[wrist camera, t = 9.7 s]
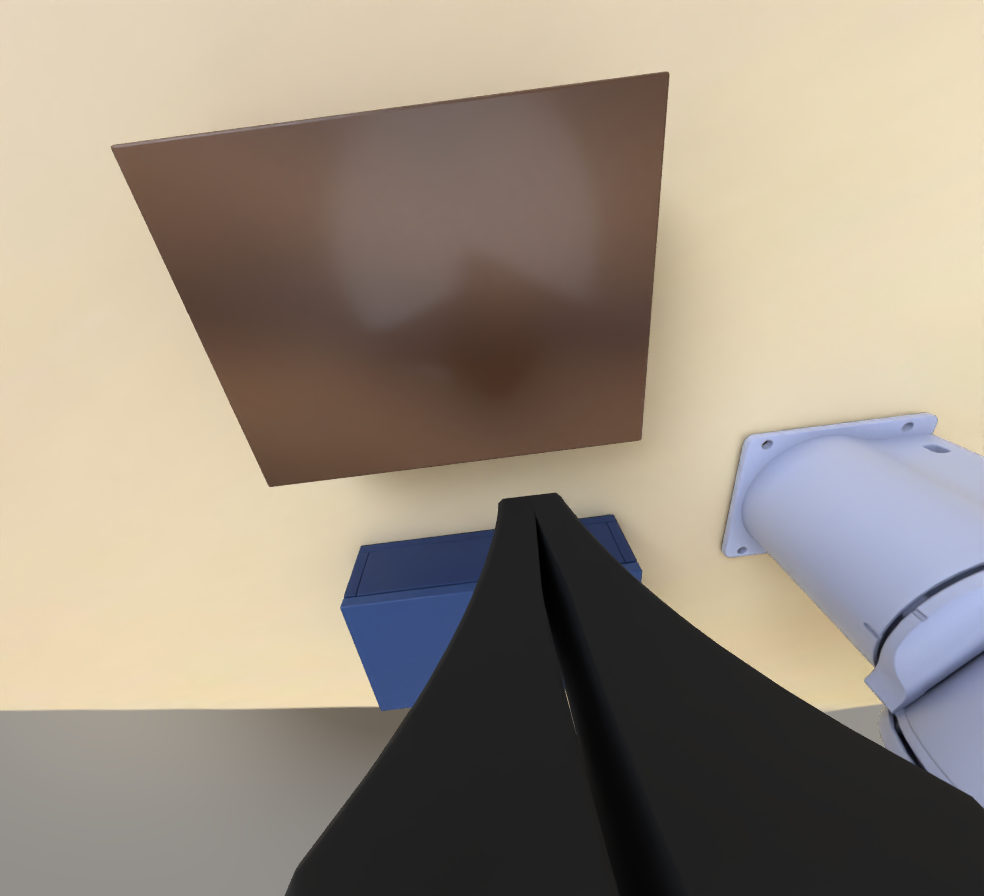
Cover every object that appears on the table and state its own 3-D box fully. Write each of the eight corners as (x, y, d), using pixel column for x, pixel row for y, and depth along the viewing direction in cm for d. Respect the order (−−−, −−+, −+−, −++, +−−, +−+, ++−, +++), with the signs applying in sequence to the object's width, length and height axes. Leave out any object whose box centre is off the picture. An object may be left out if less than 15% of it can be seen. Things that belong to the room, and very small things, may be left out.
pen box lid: (129, 149, 10) (107, 145, 10) (659, 78, 10) (671, 70, 10) (276, 477, 15) (268, 488, 15) (635, 432, 15) (642, 441, 15)
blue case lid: (631, 670, 23) (635, 680, 22) (382, 700, 23) (380, 711, 22) (637, 561, 19) (642, 570, 19) (343, 597, 19) (339, 607, 19)
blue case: (610, 608, 26) (629, 660, 23) (392, 635, 26) (382, 691, 23) (613, 514, 22) (637, 560, 19) (360, 545, 23) (343, 596, 19)
